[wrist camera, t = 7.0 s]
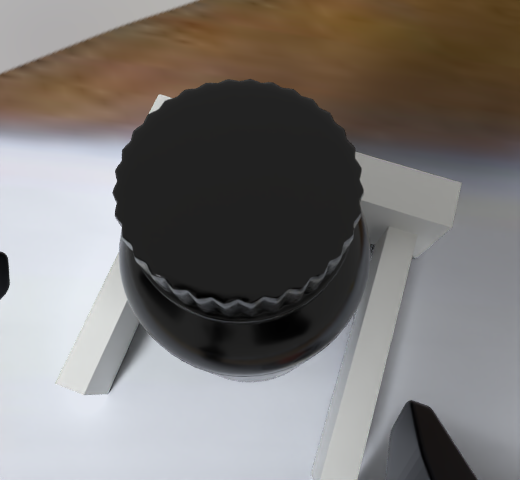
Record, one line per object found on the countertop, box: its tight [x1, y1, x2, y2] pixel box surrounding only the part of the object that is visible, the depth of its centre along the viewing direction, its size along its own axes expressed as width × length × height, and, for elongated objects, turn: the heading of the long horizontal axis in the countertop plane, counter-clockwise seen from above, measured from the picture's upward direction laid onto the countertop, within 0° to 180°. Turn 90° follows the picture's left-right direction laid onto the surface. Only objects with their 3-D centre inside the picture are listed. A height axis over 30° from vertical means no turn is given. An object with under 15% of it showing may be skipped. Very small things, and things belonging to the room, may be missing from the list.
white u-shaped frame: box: [55, 94, 462, 480], centre depth 17 cm, size 12×13×4 cm
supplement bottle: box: [113, 79, 371, 382], centre depth 14 cm, size 7×7×12 cm
